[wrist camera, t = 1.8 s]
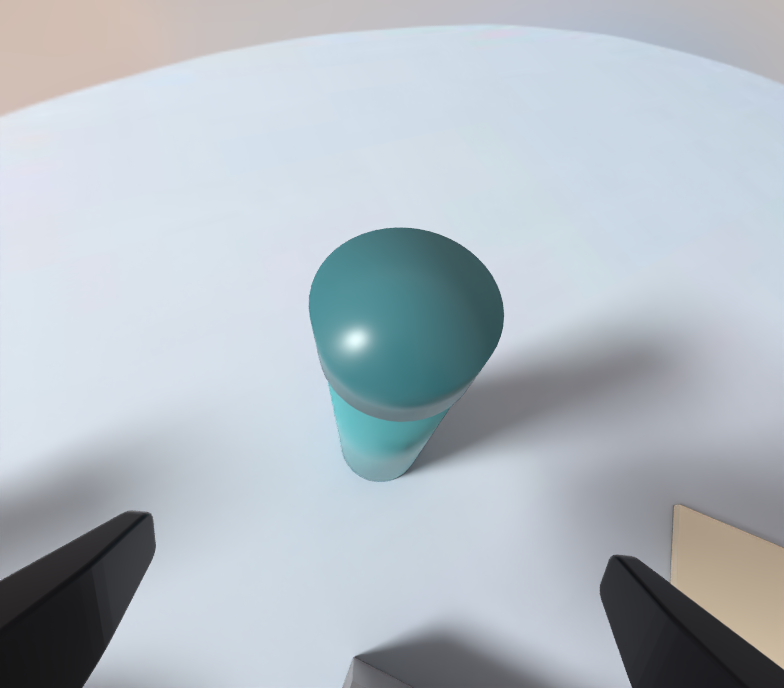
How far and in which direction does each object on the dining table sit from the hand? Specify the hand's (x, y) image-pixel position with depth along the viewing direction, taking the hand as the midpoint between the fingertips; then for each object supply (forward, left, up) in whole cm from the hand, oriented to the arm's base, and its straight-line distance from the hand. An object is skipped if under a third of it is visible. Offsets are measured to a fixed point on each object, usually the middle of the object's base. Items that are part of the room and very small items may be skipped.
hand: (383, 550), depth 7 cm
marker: (+5, +1, -11) cm, 12 cm away
